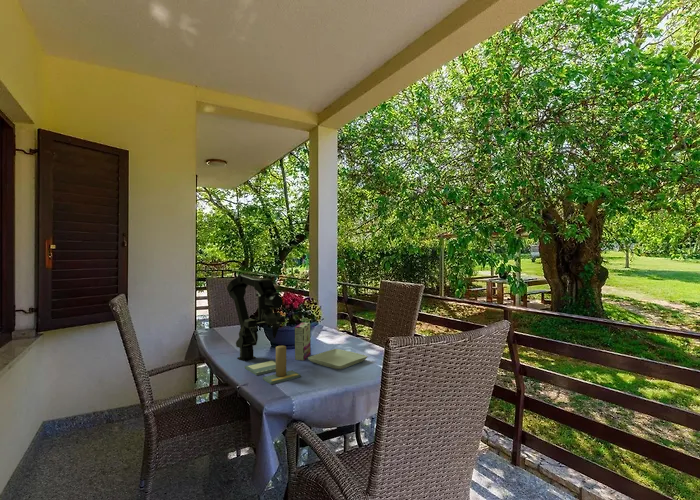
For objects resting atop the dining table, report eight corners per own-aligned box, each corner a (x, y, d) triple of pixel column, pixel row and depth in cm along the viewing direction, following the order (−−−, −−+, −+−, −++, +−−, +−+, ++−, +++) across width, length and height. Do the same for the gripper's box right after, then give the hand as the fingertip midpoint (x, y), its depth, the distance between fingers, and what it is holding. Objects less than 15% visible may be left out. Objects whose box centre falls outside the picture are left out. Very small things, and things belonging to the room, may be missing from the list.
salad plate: (335, 354, 197) (335, 347, 197) (368, 362, 184) (368, 355, 184) (306, 364, 181) (306, 356, 181) (340, 373, 168) (340, 366, 167)
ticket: (244, 368, 173) (244, 365, 173) (272, 362, 182) (272, 360, 182) (256, 375, 164) (256, 372, 164) (285, 369, 172) (285, 366, 172)
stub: (262, 379, 159) (262, 348, 158) (292, 372, 167) (292, 343, 167) (270, 384, 153) (270, 352, 153) (300, 376, 162) (300, 346, 162)
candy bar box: (301, 353, 196) (301, 322, 196) (311, 354, 195) (310, 322, 195) (294, 360, 185) (294, 326, 185) (304, 361, 184) (304, 327, 184)
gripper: (253, 310, 165) (253, 346, 165) (291, 305, 176) (291, 339, 176) (242, 307, 173) (243, 341, 173) (279, 303, 185) (280, 335, 185)
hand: (265, 339), depth 177 cm, fingers open, 9 cm apart
